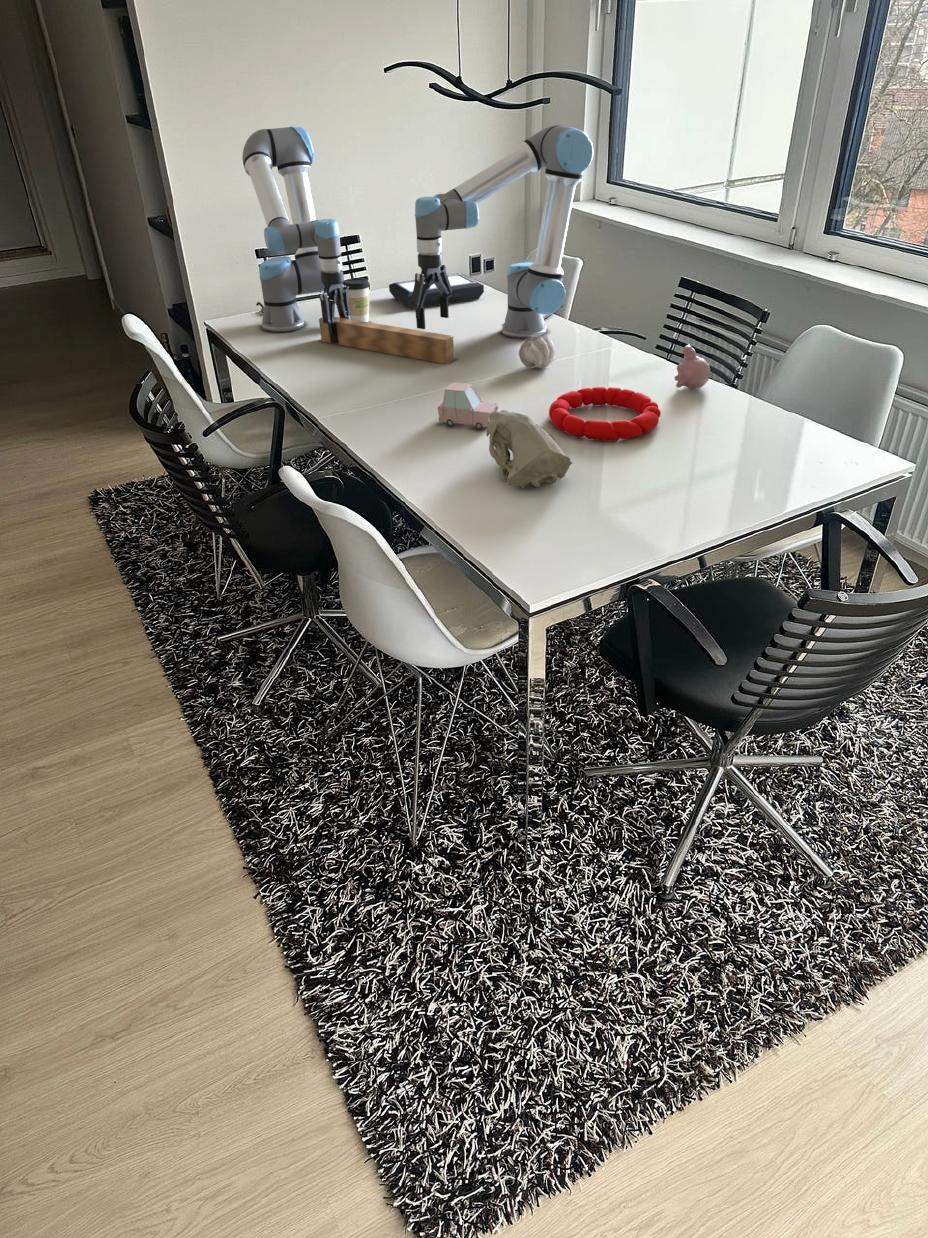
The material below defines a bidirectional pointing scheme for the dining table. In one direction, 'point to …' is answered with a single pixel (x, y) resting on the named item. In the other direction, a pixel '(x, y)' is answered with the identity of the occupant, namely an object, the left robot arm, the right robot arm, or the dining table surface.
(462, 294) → the electronic device
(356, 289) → the coffee cup
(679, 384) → the figurine
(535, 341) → the seashell
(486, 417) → the toy car
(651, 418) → the decorative ring
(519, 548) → the dining table surface
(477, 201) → the right robot arm
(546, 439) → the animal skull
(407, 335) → the bar
